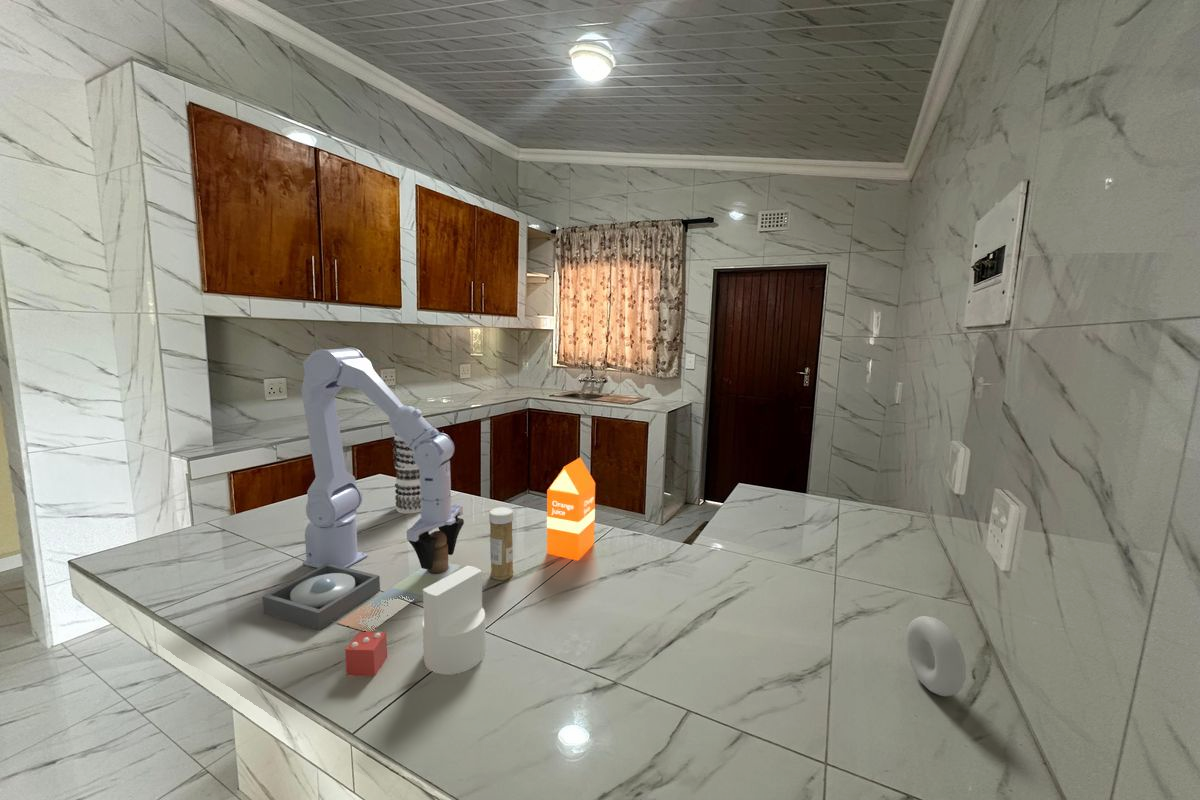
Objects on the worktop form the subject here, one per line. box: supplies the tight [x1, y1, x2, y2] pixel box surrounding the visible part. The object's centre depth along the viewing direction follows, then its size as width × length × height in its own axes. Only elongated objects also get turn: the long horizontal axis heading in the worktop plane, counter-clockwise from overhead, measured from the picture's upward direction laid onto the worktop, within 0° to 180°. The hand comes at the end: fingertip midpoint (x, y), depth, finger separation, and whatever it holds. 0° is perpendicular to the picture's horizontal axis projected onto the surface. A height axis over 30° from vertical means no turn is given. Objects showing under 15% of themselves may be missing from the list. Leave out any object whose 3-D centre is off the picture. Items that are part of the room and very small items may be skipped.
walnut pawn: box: [428, 530, 449, 574], centre depth 99 cm, size 4×4×8 cm
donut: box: [905, 615, 967, 697], centre depth 69 cm, size 10×4×10 cm, turn 179°
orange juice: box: [546, 457, 596, 561], centre depth 108 cm, size 8×9×20 cm
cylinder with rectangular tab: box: [422, 565, 487, 676], centre depth 74 cm, size 9×9×12 cm
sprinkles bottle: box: [488, 506, 514, 581], centre depth 97 cm, size 5×5×14 cm
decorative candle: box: [391, 432, 421, 514], centre depth 130 cm, size 9×9×25 cm
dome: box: [290, 573, 355, 609], centre depth 87 cm, size 10×10×4 cm
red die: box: [344, 631, 388, 677], centre depth 71 cm, size 4×4×4 cm
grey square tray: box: [261, 563, 381, 631], centre depth 87 cm, size 13×13×3 cm
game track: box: [337, 562, 462, 632], centre depth 91 cm, size 7×24×1 cm, turn 160°
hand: (437, 560), depth 99 cm, fingers open, 6 cm apart
